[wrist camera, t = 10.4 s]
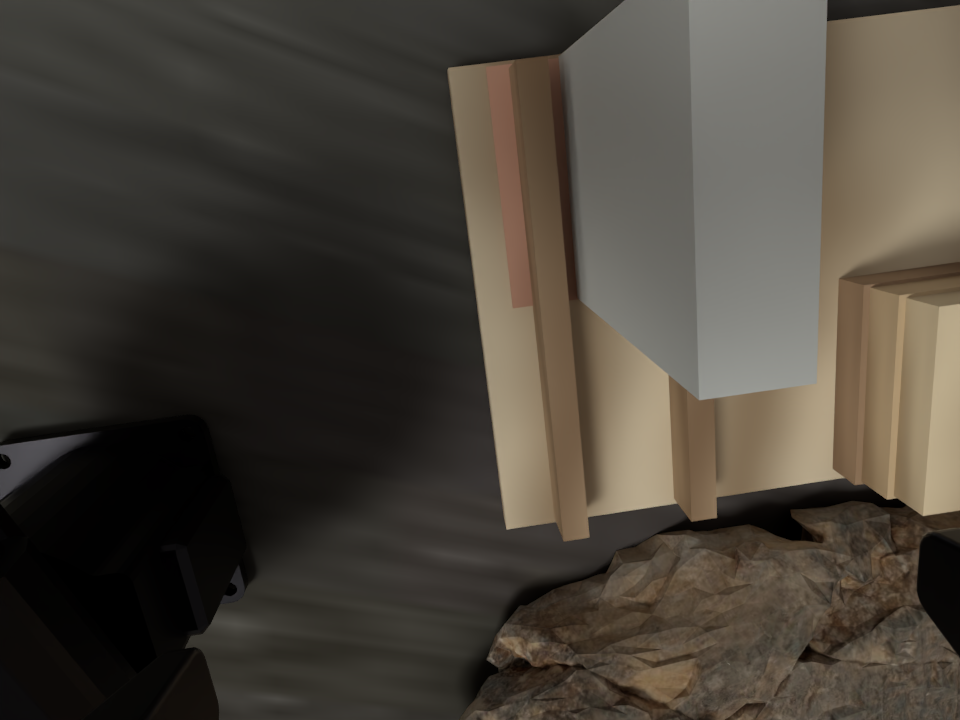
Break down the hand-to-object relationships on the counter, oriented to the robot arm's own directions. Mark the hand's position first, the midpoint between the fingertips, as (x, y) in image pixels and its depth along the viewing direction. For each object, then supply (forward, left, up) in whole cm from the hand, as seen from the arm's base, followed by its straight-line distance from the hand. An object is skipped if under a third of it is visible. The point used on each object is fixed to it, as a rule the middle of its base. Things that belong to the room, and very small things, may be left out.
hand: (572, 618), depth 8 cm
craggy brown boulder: (+6, -14, -14) cm, 20 cm away
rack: (+9, +1, -13) cm, 16 cm away
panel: (+4, +5, -12) cm, 14 cm away
